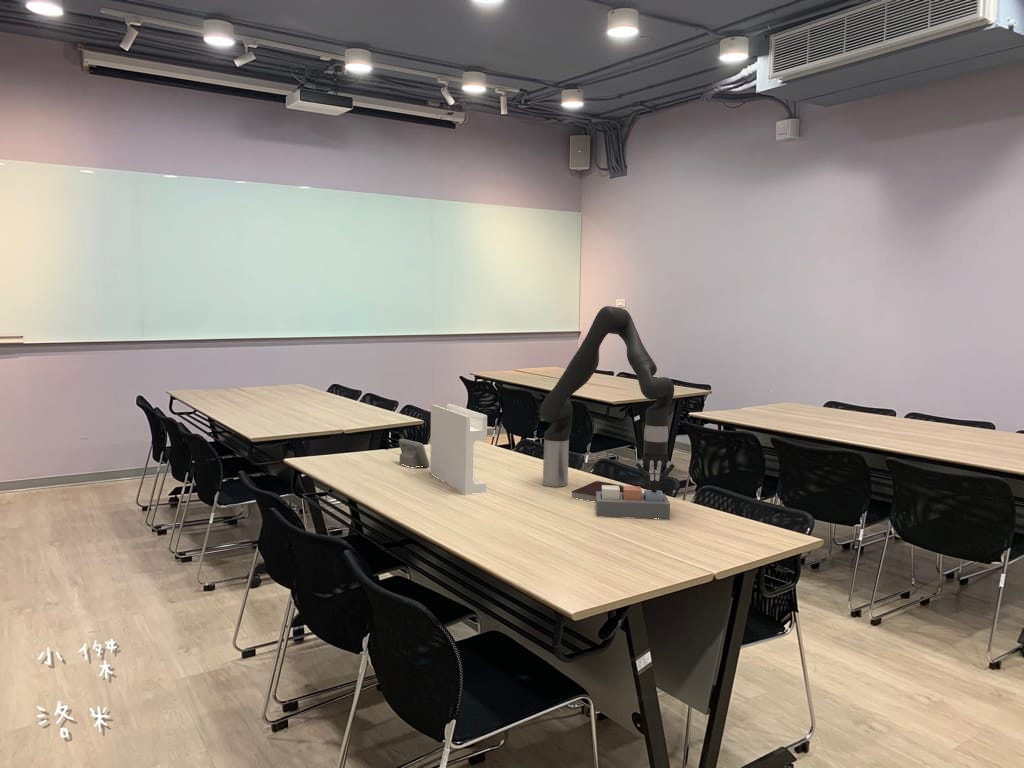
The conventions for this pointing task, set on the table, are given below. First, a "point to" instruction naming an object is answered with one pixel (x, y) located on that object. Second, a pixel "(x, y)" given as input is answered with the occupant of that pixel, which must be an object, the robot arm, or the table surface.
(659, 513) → the console
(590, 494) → the book
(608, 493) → the key white
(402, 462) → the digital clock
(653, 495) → the key blue
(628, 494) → the key terracotta
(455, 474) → the block
